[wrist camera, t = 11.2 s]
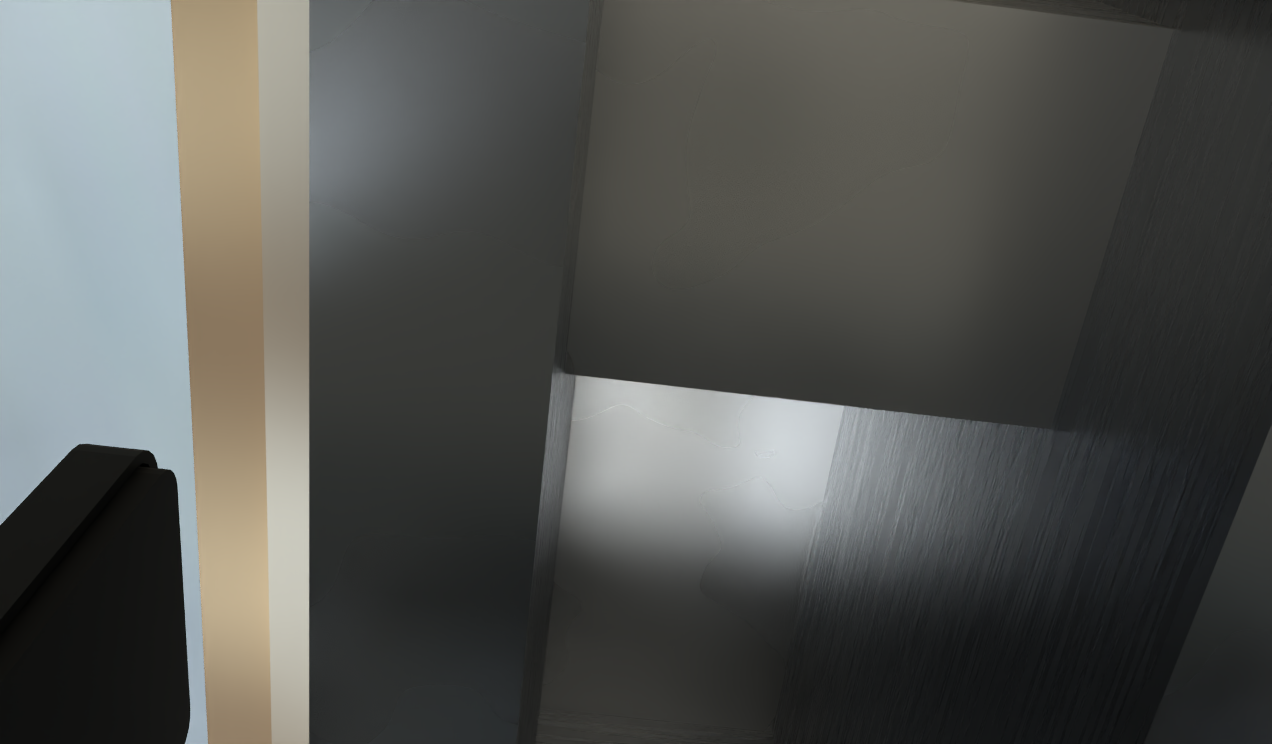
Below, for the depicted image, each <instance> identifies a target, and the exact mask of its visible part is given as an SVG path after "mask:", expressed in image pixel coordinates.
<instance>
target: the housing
mask: <svg viewBox="0 0 1272 744" xmlns="http://www.w3.org/2000/svg"><path fill="white" fill-rule="evenodd" d="M309 744H1272V0H309Z"/></svg>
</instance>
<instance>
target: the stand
mask: <svg viewBox="0 0 1272 744" xmlns="http://www.w3.org/2000/svg"><path fill="white" fill-rule="evenodd" d="M171 12H172V32H173V52H174V72H175V92H176V112H177V132H178V152H179V172H180V192H181V211H182V231H183V251H184V271H185V291H186V311H187V331H188V351H189V371H190V391H191V411H192V430H193V450H194V470H195V490H196V510H197V530H198V550H199V570H200V590H201V610H202V629H203V649H204V669H205V689H206V709H207V729H208V744H309V0H171Z"/></svg>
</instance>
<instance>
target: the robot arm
mask: <svg viewBox="0 0 1272 744" xmlns="http://www.w3.org/2000/svg"><path fill="white" fill-rule="evenodd" d="M189 722H190V697H189V679H188V662H187V645H186V628H185V610H184V593H183V576H182V558H181V541H180V524H179V507H178V489H177V481H176V477H175V475H174V473H173V472H172V471H171V470H167V469H158V467H157V462H156V460H155V457H154V455H153V454H152V453H151V452H150V451H147V450H138V449H129V448H119V447H110V446H101V445H92V444H79V445H78V446H76V447H75V448H74V449H72V450H71V451H70V452H69V453H68V455H67V456H66V457H65V458H64V459H63V460H62V461H61V462H60V463H59V464H58V465H57V466H56V467H55V468H54V469H53V470H52V471H51V472H50V474H49V475H48V476H47V477H46V478H45V479H44V480H43V481H42V482H41V483H40V484H39V485H38V486H37V487H36V488H35V489H34V490H33V491H32V493H31V494H30V495H29V496H28V497H27V498H26V499H25V500H24V501H23V502H22V503H21V504H20V505H19V506H18V507H17V508H16V509H15V510H14V512H13V513H12V514H11V515H10V516H9V517H8V518H7V519H6V520H5V521H4V522H3V523H2V524H1V525H0V744H185V741H186V738H187V733H188V729H189Z"/></svg>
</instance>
